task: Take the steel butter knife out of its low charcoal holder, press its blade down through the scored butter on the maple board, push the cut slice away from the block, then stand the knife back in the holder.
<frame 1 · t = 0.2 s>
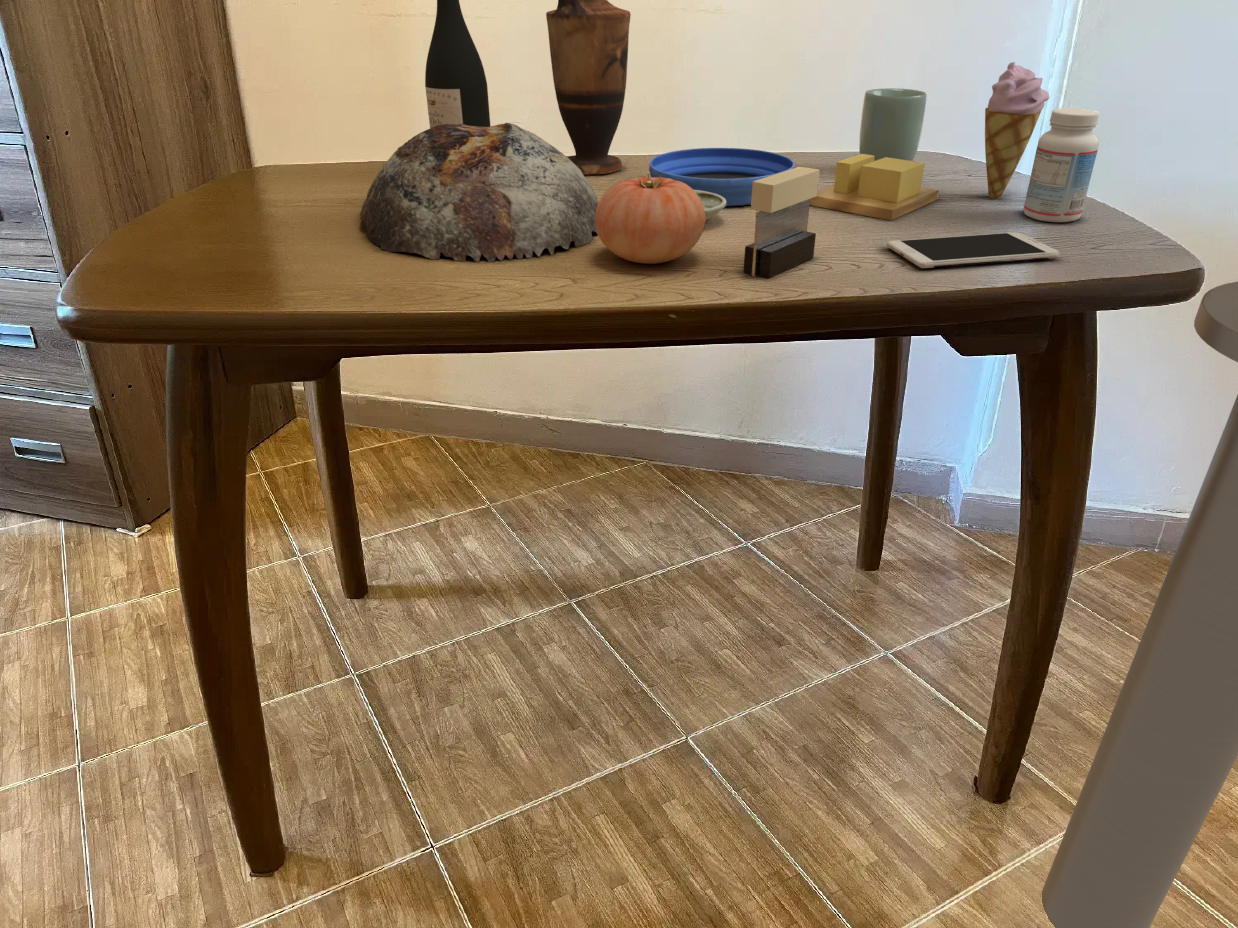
knife: (779, 265, 85), resting in knife holder
butter block: (888, 194, 103), point 1 cm above the table, touching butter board
tomato: (649, 260, 87), on the table
ice cream cone: (997, 198, 107), on the table
vase: (591, 170, 122), on the table
wine bottle: (465, 176, 120), on the table
bread: (483, 220, 100), on the table
bowl: (719, 192, 111), on the table
pill bottle: (1050, 218, 99), on the table
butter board: (872, 202, 105), on the table
smartphone: (970, 254, 87), on the table
butter slice: (852, 188, 106), point 1 cm above the table, touching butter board
knife holder: (779, 265, 85), on the table
cup: (884, 173, 119), on the table
saucer: (682, 222, 99), on the table
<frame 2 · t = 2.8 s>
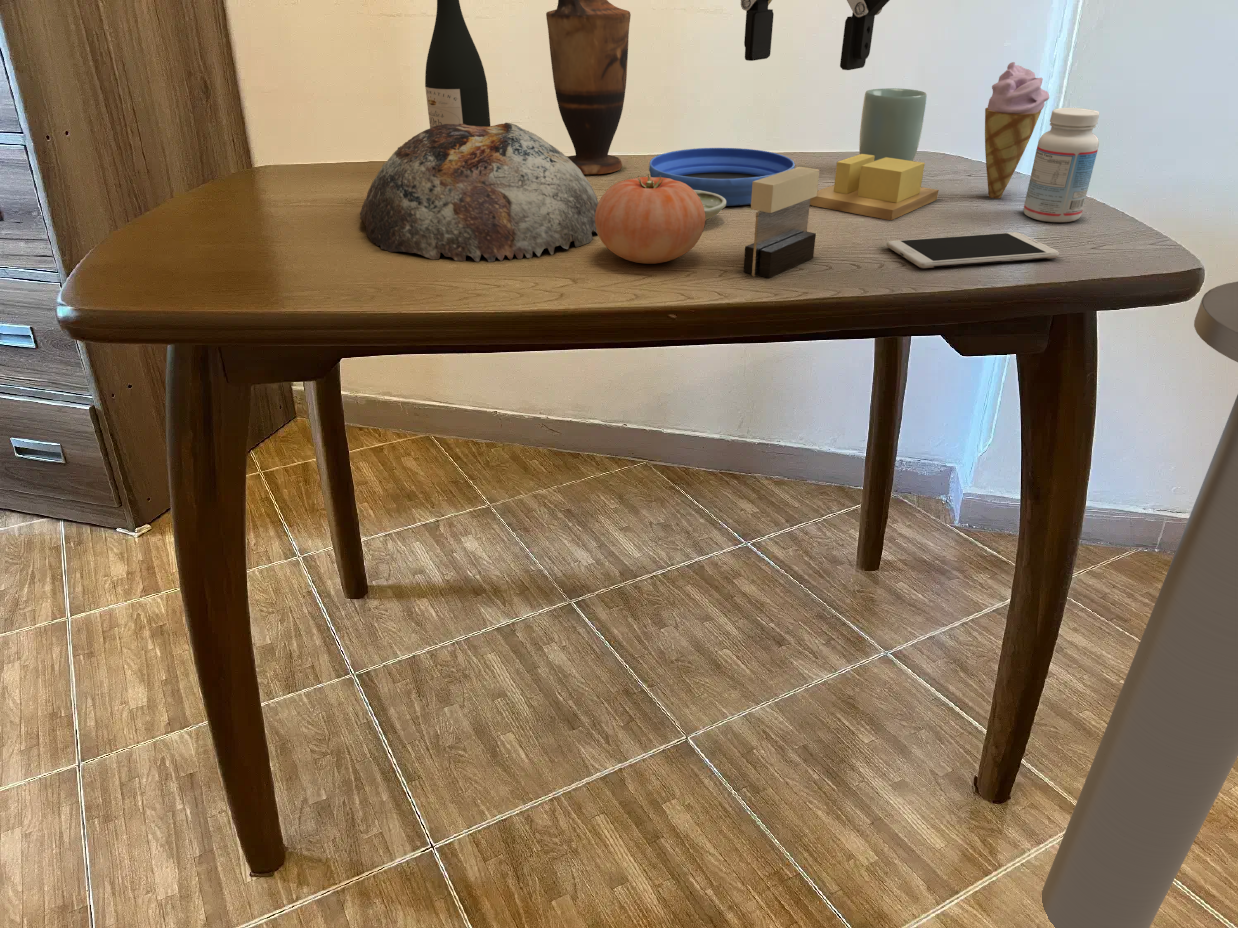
hand: (803, 63, 77), 18 cm above the table, tool pointing down, fingers open, 9 cm apart
nothing on the table moved.
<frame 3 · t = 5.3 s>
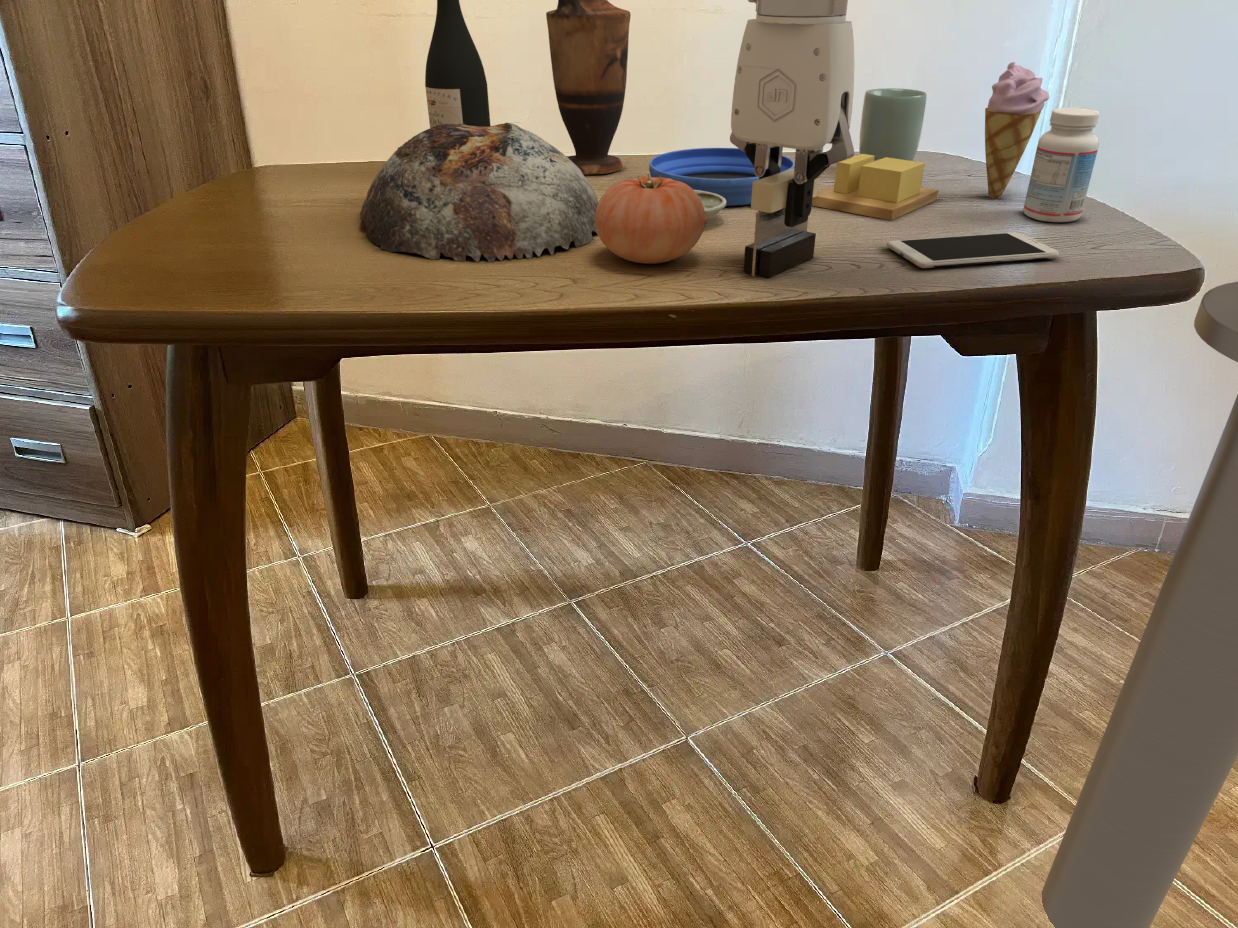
hand: (782, 219, 83), 4 cm above the table, tool pointing down, fingers closed on knife, 2 cm apart
knife: (778, 265, 85), resting in knife holder, touching gripper
everything else where it was.
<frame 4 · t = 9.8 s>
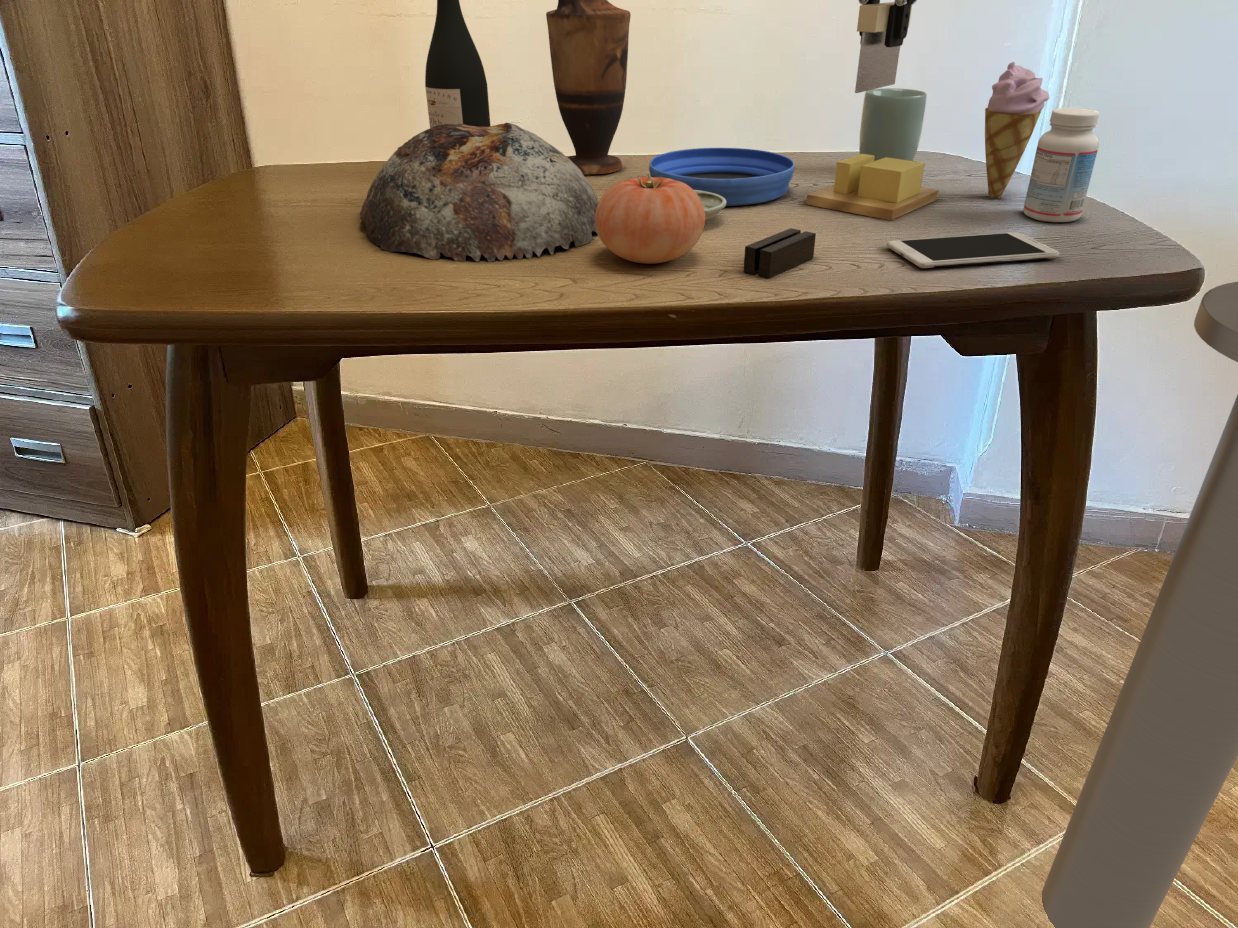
hand: (881, 44, 97), 17 cm above the table, tool pointing down, fingers closed on knife
knife: (875, 88, 99), point 13 cm above the table, touching gripper
everything else where it was.
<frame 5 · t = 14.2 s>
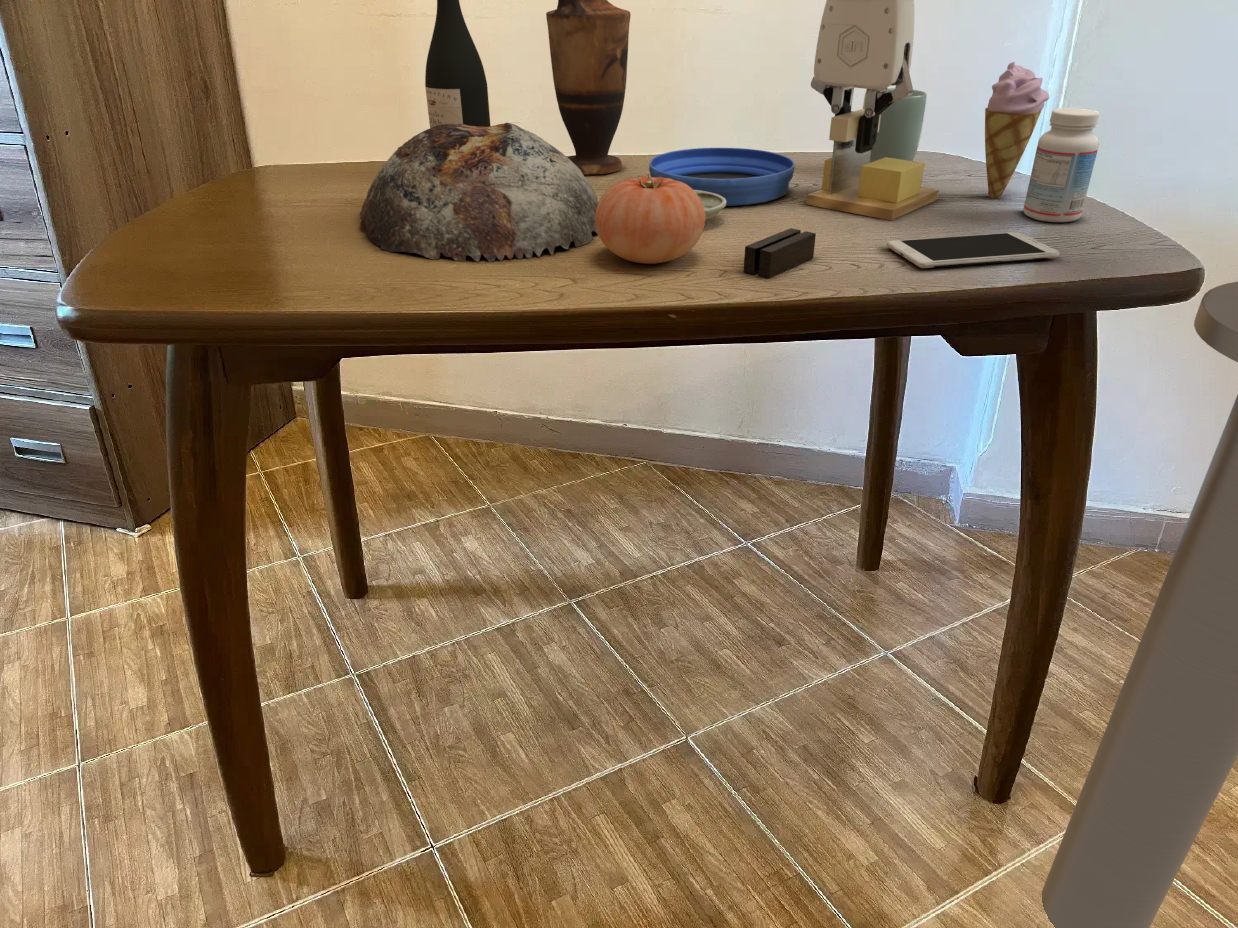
hand: (852, 148, 104), 6 cm above the table, tool pointing down, fingers closed on knife, 2 cm apart
knife: (848, 187, 107), point 1 cm above the table, touching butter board, butter slice, gripper
butter slice: (840, 186, 107), point 1 cm above the table, touching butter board, knife
everything else where it was.
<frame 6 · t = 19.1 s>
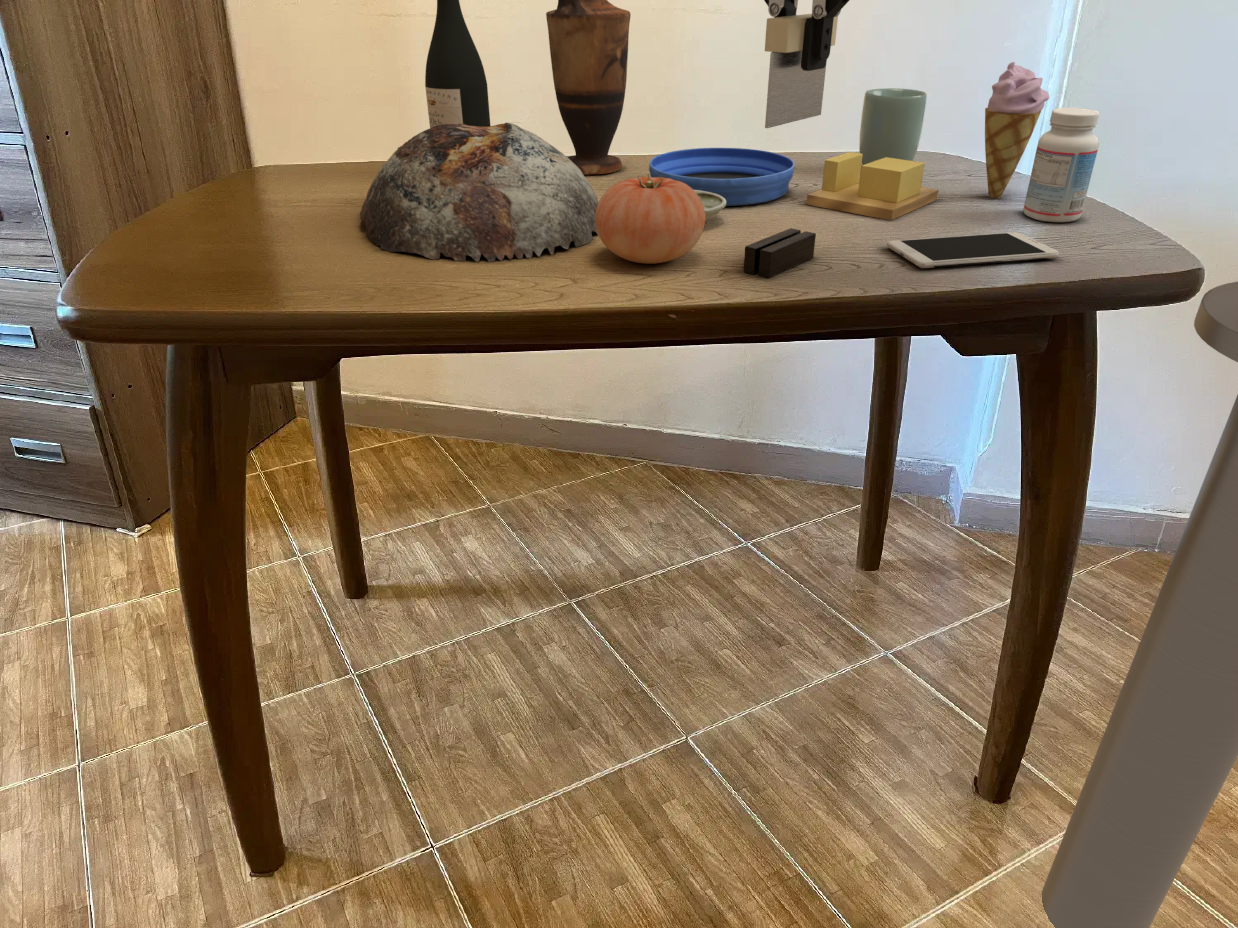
hand: (799, 66, 77), 18 cm above the table, tool pointing down, fingers closed on knife
knife: (793, 121, 79), point 13 cm above the table, touching gripper
butter slice: (840, 186, 107), point 1 cm above the table, touching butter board
everything else where it was.
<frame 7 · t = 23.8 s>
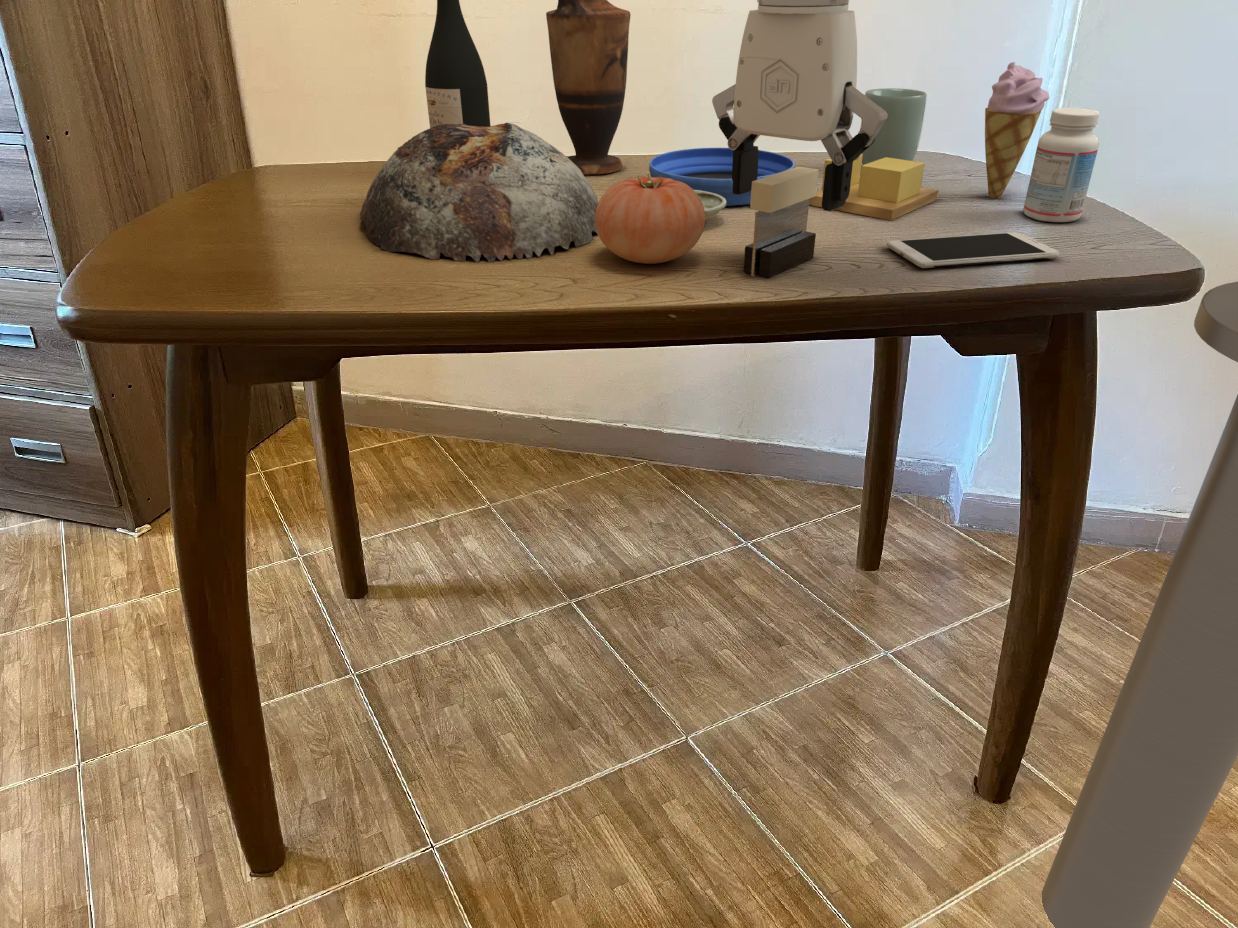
hand: (787, 199, 82), 6 cm above the table, tool pointing down, fingers open, 9 cm apart
knife: (778, 265, 85), resting in knife holder
everything else where it was.
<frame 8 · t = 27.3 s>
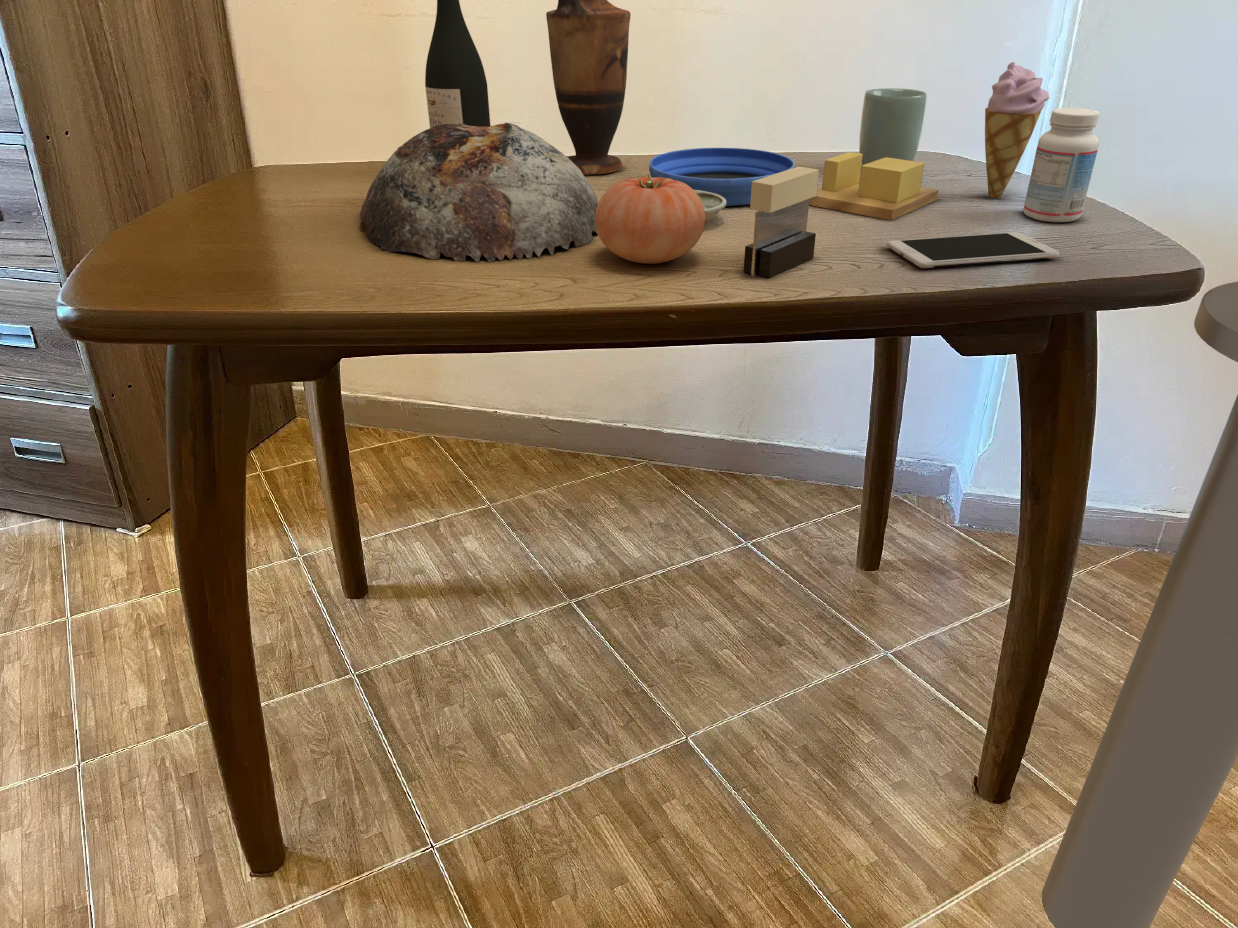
nothing on the table moved.
at the end: butter slice moved 1.6 cm from its start; butter block moved 0.0 cm from its start; knife 0.1 cm off-centre on the knife holder, point 0.0 cm above the knife holder's base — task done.
